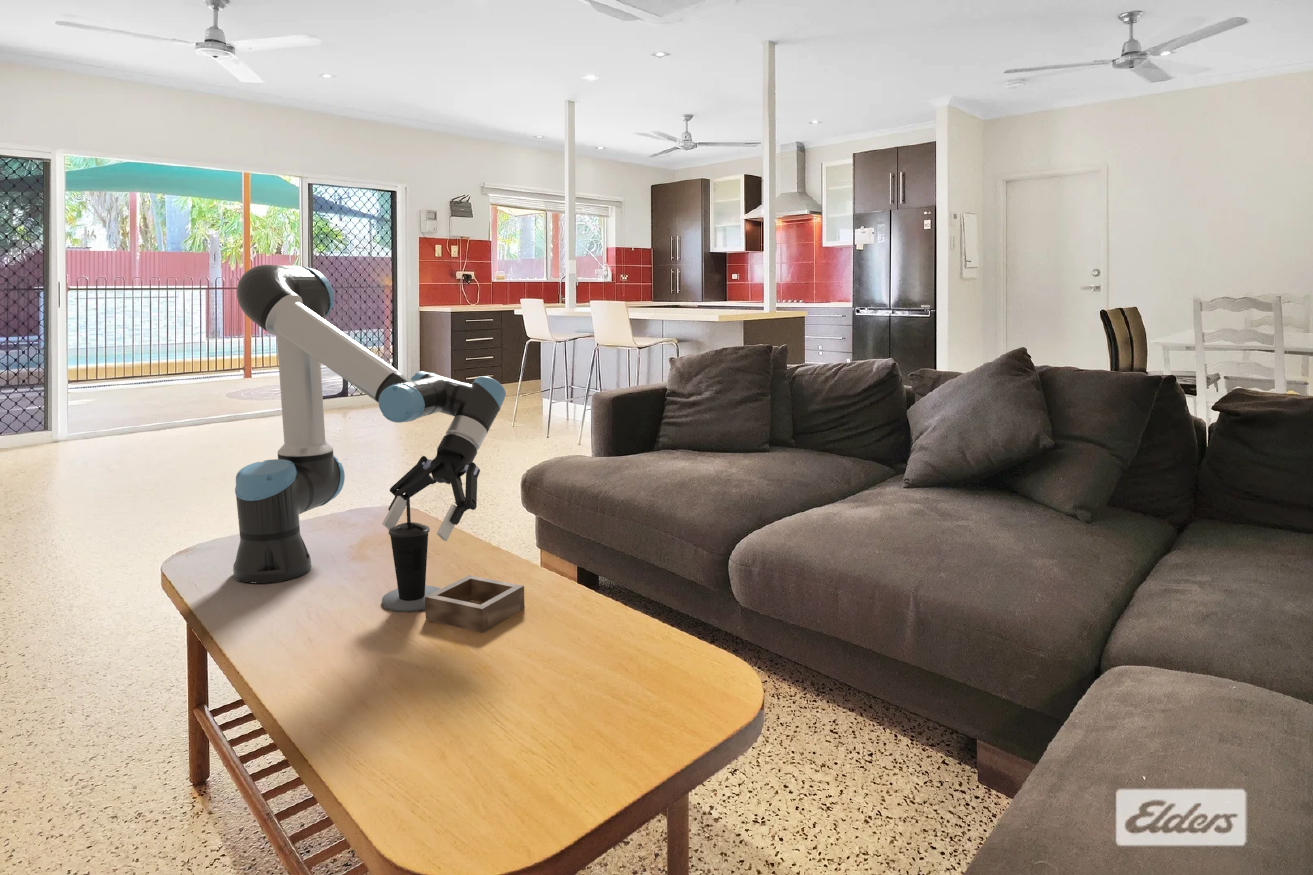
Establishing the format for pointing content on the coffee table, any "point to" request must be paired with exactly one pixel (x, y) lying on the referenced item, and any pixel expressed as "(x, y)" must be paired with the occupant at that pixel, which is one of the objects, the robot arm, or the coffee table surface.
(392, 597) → the coaster
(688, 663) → the coffee table surface
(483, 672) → the coffee table surface
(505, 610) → the wooden square tray
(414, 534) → the drinking cup
